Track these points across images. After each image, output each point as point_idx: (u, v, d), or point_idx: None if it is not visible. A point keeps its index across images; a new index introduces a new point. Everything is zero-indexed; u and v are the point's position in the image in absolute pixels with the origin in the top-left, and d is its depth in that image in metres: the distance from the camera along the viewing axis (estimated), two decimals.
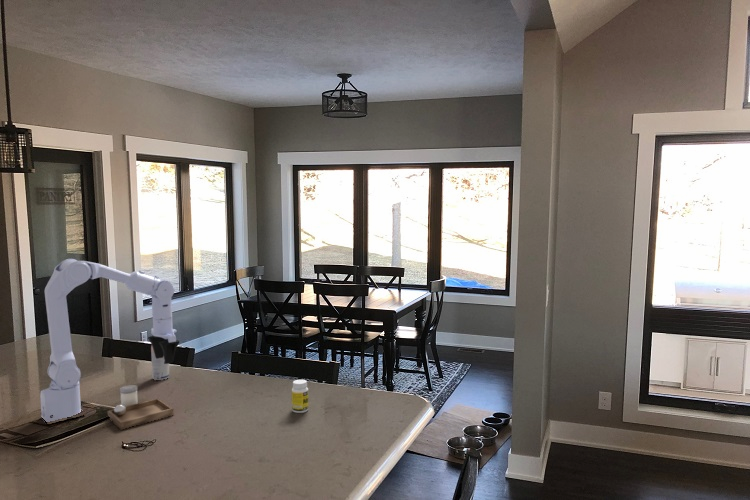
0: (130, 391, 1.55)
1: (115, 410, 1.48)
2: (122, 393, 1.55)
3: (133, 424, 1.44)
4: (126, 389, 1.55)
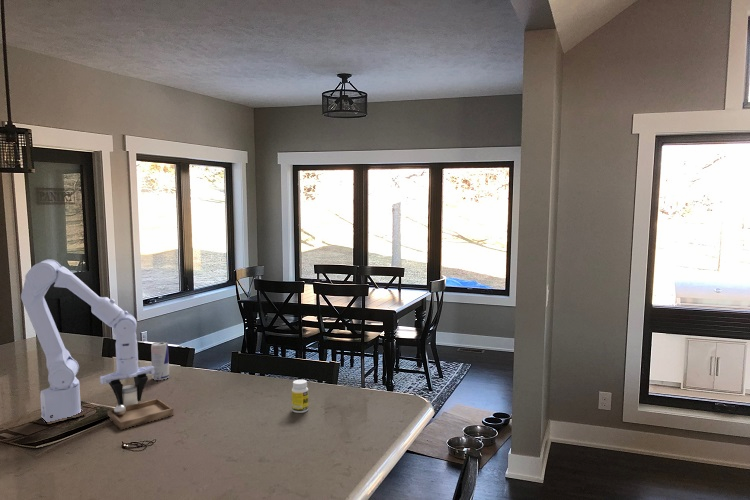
0: (130, 391, 1.55)
1: (115, 410, 1.48)
2: (122, 393, 1.55)
3: (133, 424, 1.44)
4: (126, 389, 1.55)
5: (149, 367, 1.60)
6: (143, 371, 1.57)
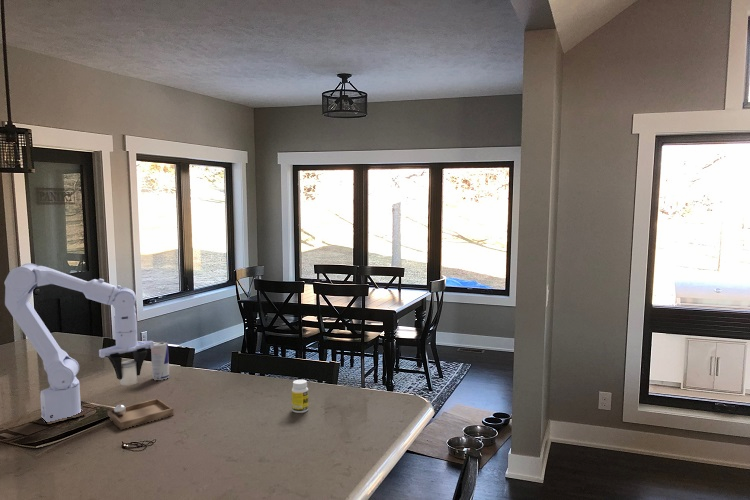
0: (129, 365, 1.54)
1: (115, 410, 1.48)
2: (121, 367, 1.54)
3: (133, 424, 1.44)
4: (125, 363, 1.54)
5: (148, 341, 1.59)
6: (142, 345, 1.56)
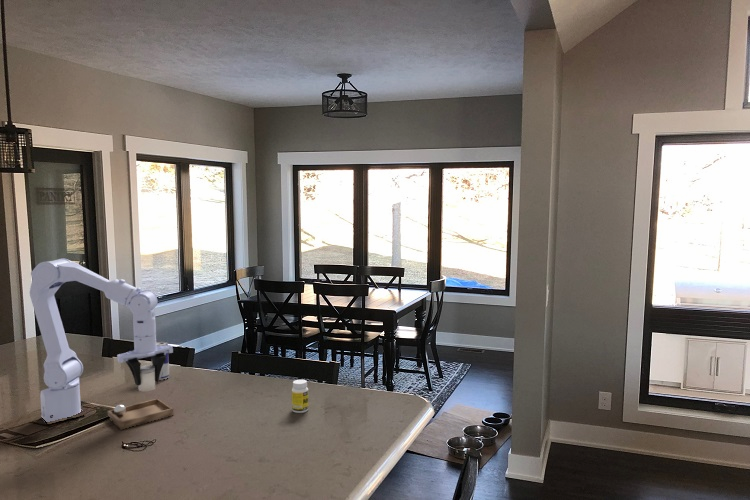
0: (148, 371, 1.49)
1: (115, 410, 1.48)
2: (140, 373, 1.49)
3: (133, 424, 1.44)
4: (144, 369, 1.50)
5: (167, 346, 1.54)
6: (161, 350, 1.52)
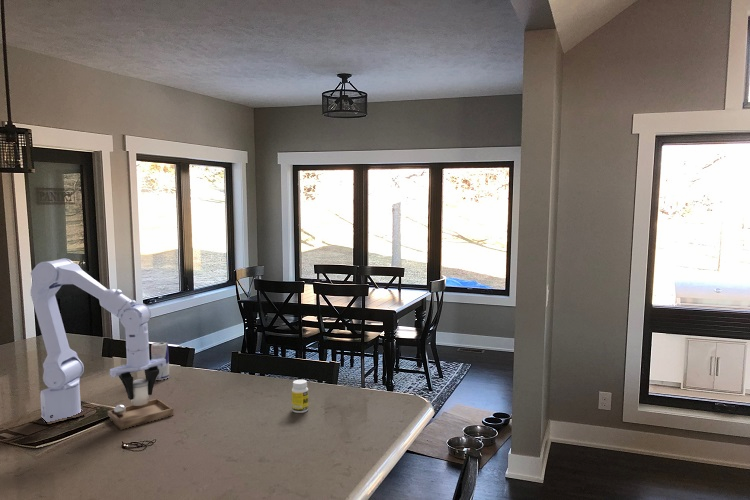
0: (141, 385, 1.48)
1: (115, 410, 1.48)
2: None
3: (133, 424, 1.44)
4: (137, 383, 1.49)
5: (160, 359, 1.53)
6: (154, 363, 1.50)
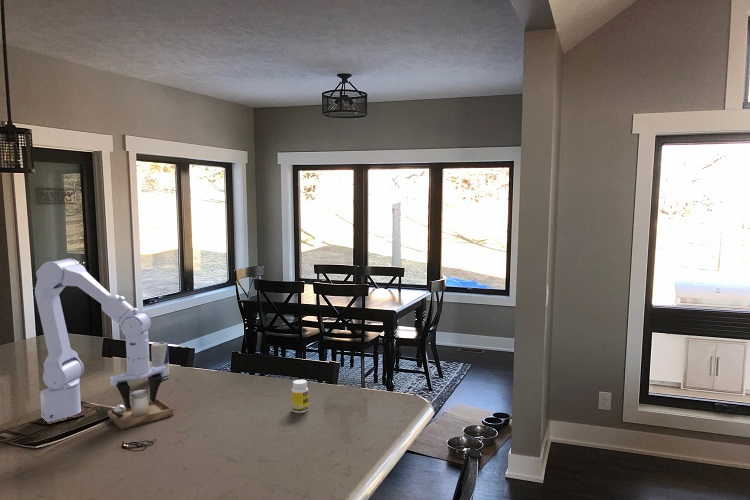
0: (141, 396, 1.48)
1: (115, 410, 1.48)
2: (133, 398, 1.48)
3: (133, 424, 1.44)
4: (137, 394, 1.49)
5: (161, 367, 1.53)
6: (155, 371, 1.51)
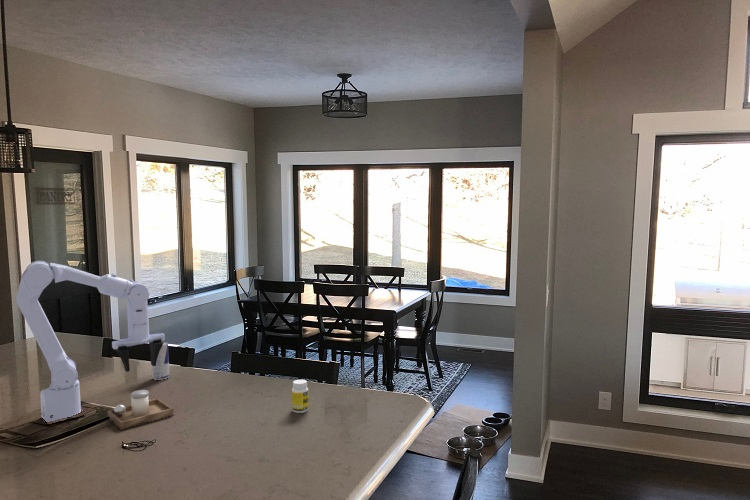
0: (141, 396, 1.48)
1: (115, 410, 1.48)
2: (133, 398, 1.48)
3: (133, 424, 1.44)
4: (137, 394, 1.49)
5: (160, 334, 1.64)
6: (154, 337, 1.61)
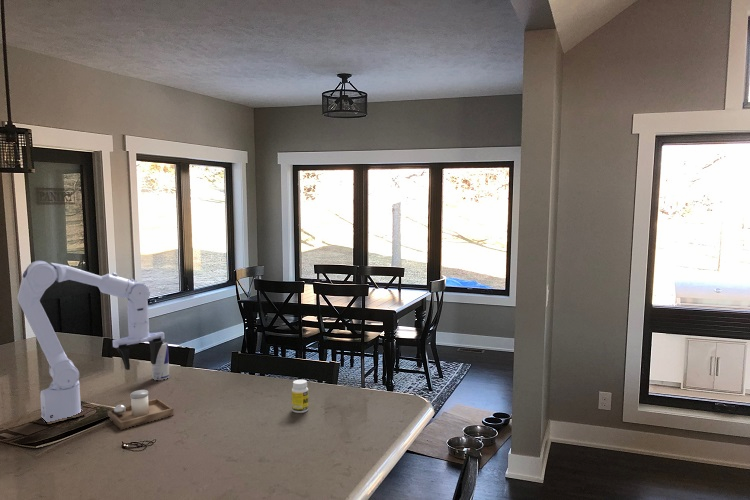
0: (141, 396, 1.48)
1: (115, 410, 1.48)
2: (133, 398, 1.48)
3: (133, 424, 1.44)
4: (137, 394, 1.49)
5: (159, 333, 1.66)
6: (154, 336, 1.63)
